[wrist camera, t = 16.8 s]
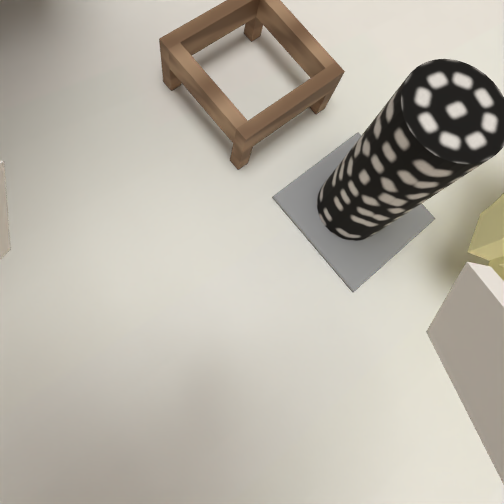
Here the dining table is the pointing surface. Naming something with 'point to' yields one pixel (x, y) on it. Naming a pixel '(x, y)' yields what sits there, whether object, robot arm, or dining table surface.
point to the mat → (333, 247)
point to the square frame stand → (254, 17)
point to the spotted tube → (414, 148)
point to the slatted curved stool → (490, 236)
